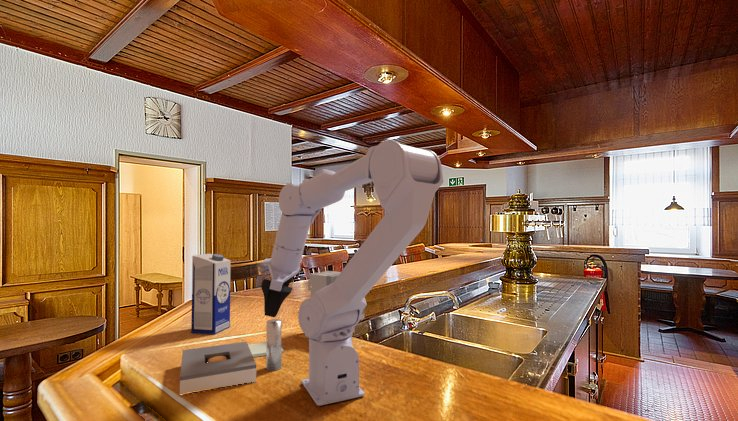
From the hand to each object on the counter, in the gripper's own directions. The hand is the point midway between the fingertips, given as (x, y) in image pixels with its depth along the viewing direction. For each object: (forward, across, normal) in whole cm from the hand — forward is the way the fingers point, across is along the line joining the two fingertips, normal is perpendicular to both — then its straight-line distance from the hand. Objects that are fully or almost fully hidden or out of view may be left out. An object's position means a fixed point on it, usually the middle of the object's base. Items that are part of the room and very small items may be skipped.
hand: (274, 305), depth 74 cm
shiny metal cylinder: (+9, +6, +3) cm, 12 cm away
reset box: (+12, +8, -6) cm, 16 cm away
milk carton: (+23, -19, -16) cm, 34 cm away
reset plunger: (+10, +8, -7) cm, 14 cm away
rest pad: (+13, -4, 0) cm, 14 cm away
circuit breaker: (+12, -14, +16) cm, 25 cm away
